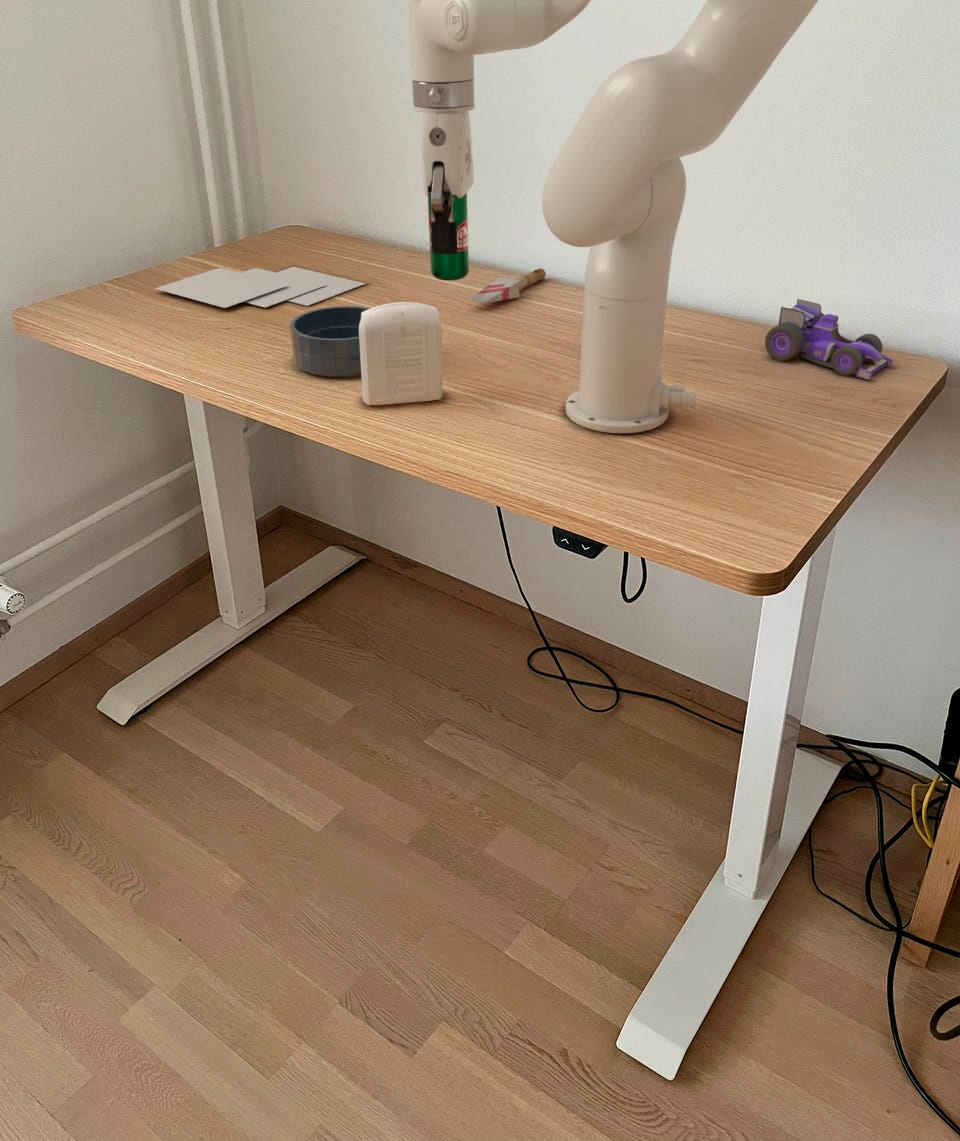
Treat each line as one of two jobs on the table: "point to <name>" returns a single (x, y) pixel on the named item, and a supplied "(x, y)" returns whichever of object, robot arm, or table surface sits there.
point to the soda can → (457, 263)
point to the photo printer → (401, 353)
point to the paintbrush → (508, 287)
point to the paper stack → (260, 287)
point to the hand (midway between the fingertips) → (449, 246)
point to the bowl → (328, 341)
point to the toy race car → (823, 341)
